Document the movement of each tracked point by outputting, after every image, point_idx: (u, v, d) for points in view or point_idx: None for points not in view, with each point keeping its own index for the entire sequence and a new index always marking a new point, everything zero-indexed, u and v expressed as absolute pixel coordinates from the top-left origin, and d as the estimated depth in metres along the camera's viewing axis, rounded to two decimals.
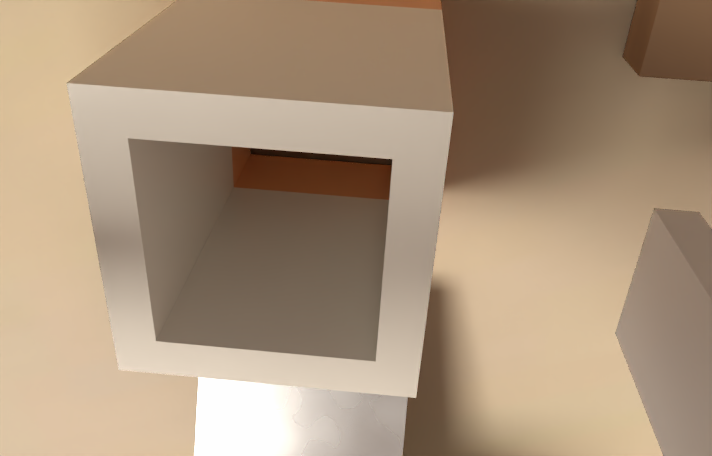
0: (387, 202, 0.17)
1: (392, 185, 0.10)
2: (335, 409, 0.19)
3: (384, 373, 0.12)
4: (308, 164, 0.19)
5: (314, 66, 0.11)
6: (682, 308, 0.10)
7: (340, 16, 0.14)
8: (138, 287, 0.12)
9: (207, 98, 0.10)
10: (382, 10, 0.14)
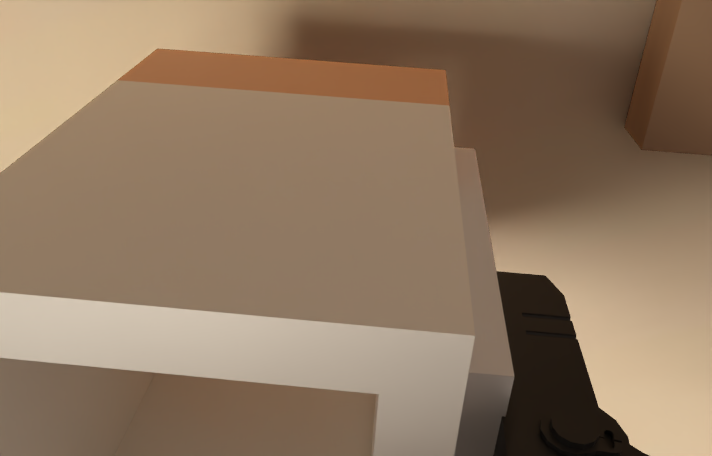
0: None
1: (378, 428, 0.07)
2: None
3: None
4: None
5: (265, 228, 0.07)
6: None
7: (313, 121, 0.10)
8: None
9: (85, 305, 0.06)
10: (371, 108, 0.11)
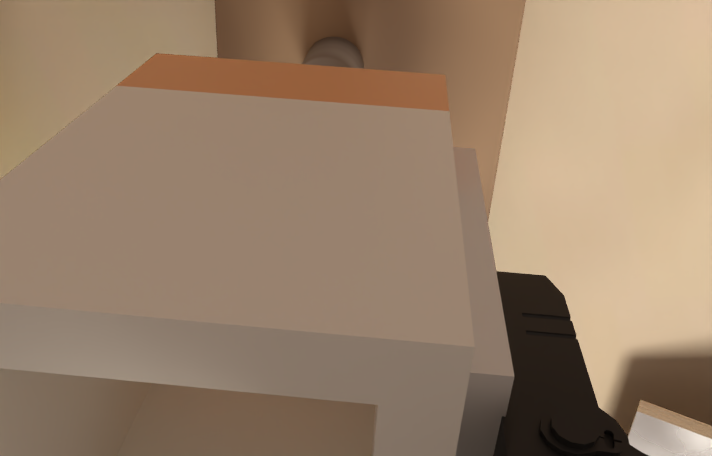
0: None
1: (378, 438, 0.07)
2: None
3: None
4: None
5: (264, 236, 0.07)
6: None
7: (313, 127, 0.10)
8: None
9: (84, 316, 0.06)
10: (370, 114, 0.11)
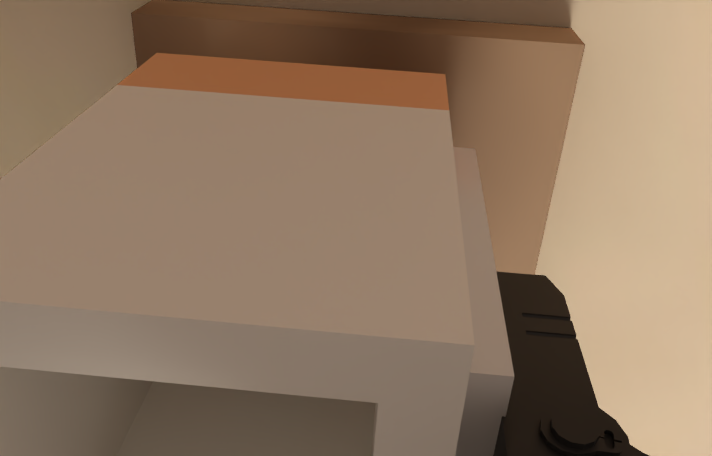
0: None
1: (378, 437, 0.07)
2: None
3: None
4: None
5: (264, 234, 0.07)
6: None
7: (313, 126, 0.10)
8: None
9: (84, 315, 0.06)
10: (370, 113, 0.11)
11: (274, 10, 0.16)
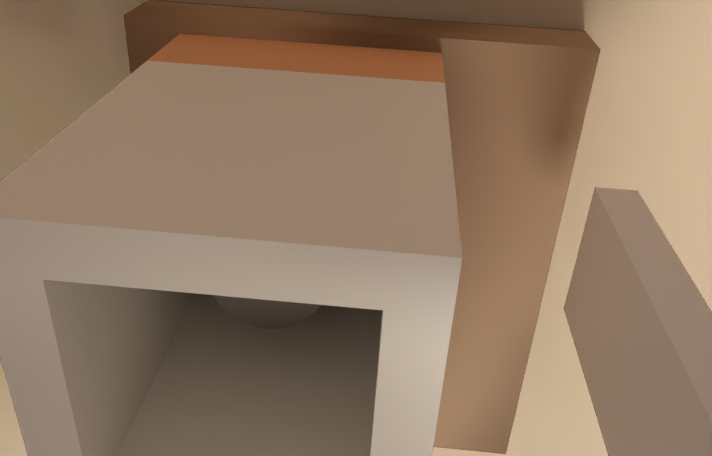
0: None
1: (383, 340, 0.08)
2: None
3: None
4: None
5: (286, 178, 0.09)
6: (614, 278, 0.11)
7: (324, 95, 0.12)
8: (66, 446, 0.09)
9: (142, 235, 0.07)
10: (374, 85, 0.12)
11: (274, 12, 0.15)
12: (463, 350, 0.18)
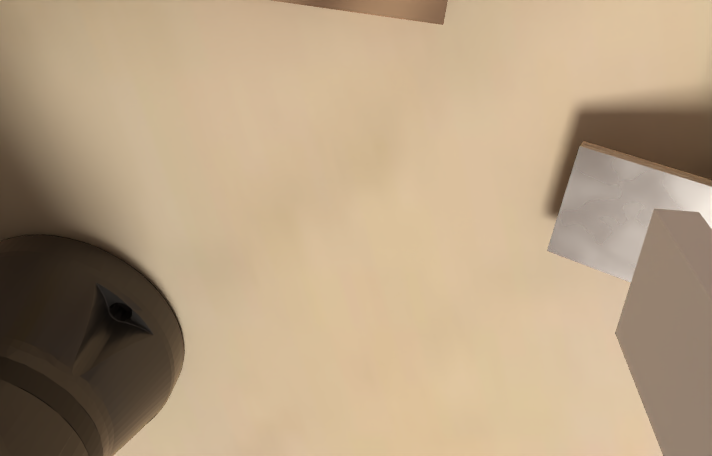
0: None
1: None
2: (619, 200, 0.32)
3: None
4: None
5: None
6: (682, 308, 0.10)
7: None
8: None
9: None
10: None
11: None
12: None
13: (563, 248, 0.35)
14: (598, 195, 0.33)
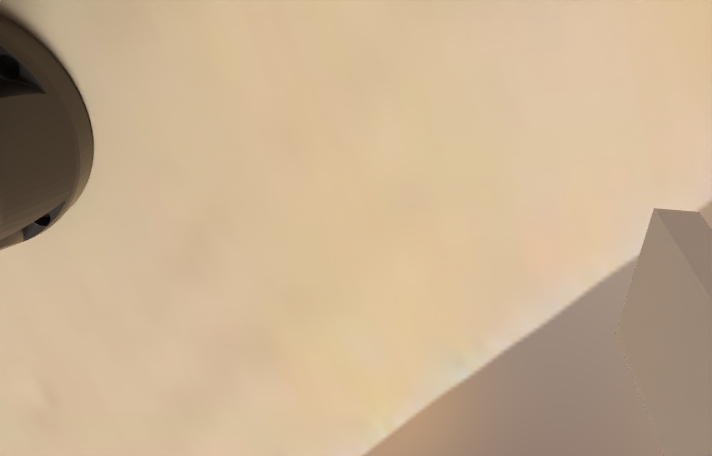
0: None
1: None
2: None
3: None
4: None
5: None
6: (682, 307, 0.10)
7: None
8: None
9: None
10: None
11: None
12: None
13: None
14: None
